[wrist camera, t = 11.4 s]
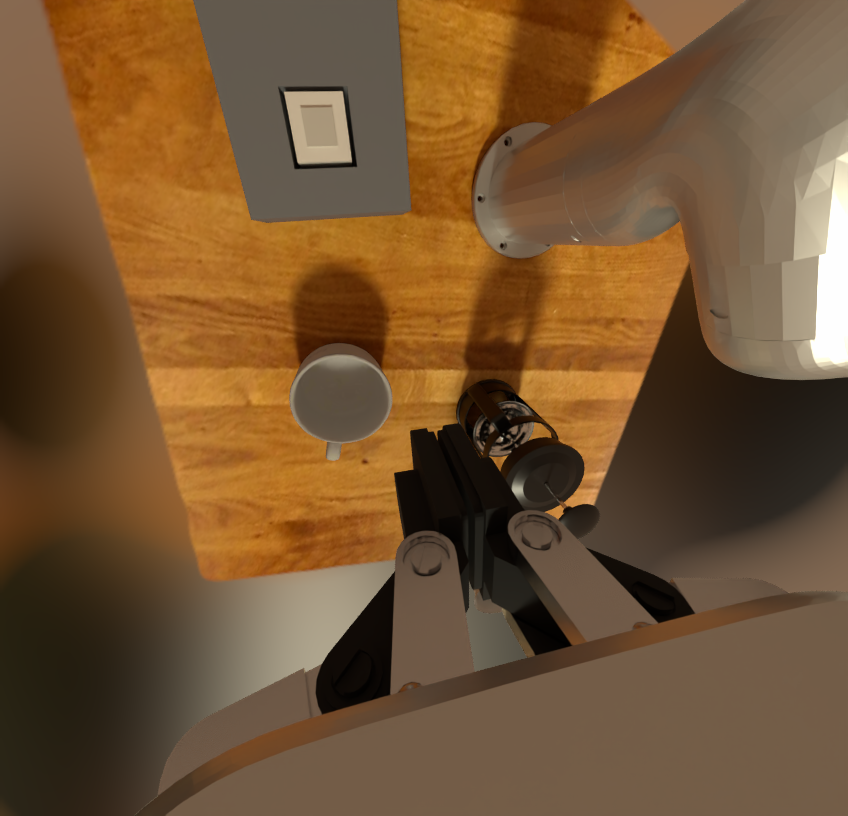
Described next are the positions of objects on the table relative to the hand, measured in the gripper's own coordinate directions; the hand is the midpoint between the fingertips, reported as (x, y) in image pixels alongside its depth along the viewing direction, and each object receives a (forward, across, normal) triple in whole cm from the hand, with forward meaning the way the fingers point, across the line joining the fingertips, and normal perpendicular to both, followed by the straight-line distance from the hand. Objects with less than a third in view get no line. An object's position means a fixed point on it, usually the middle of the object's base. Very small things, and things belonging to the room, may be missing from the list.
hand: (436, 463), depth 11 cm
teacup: (+32, +6, +10) cm, 34 cm away
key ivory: (+29, +3, -15) cm, 33 cm away
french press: (+32, -14, +16) cm, 39 cm away
